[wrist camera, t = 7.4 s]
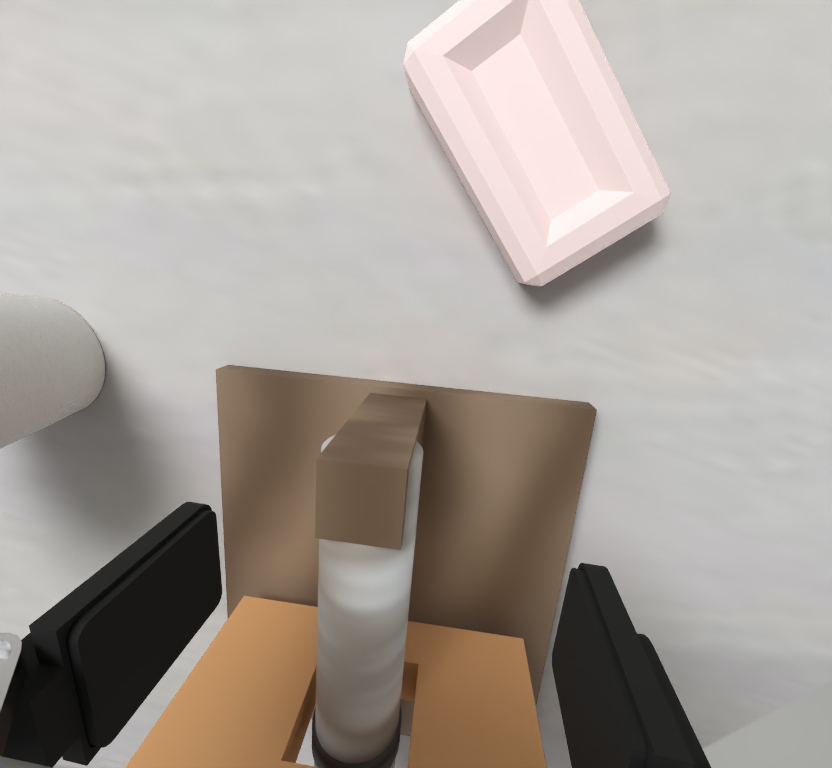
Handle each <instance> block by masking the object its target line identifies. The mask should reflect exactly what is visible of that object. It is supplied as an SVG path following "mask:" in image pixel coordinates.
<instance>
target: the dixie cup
mask: <svg viewBox="0 0 832 768" xmlns="http://www.w3.org/2000/svg"><path fill="white" fill-rule="evenodd" d="M104 379H105V360H104V355H103V351H102V348H101V345H100V343H99V341H98V339H97V337H96V335H95V333H94V332H93V330H92V329H91V327H90V326H89V325H88V323H87V322H86V321H85V320H84V319H83V318H82V317H81V316H80V315H79V314H78V313H77V312H76V311H74V310H73V309H72V308H70V307H69V306H67V305H65V304H63V303H62V302H59V301H57V300H54V299H51V298H47V297H40V296H29V295H18V294H7V293H0V448H3V447H5V446H7V445H9V444H11V443H13V442H15V441H17V440H19V439H21V438H23V437H25V436H28V435H30V434H32V433H34V432H36V431H38V430H41V429H44V428H46V427H48V426H50V425H52V424H54V423H56V422H58V421H60V420H62V419H64V418H65V417H67V416H69V415H71V414H73V413H75V412H77V411H80V410H82V409H84V408H86V407H87V406H89V405H90V404H91V403H92V402H93V401H94V400H95V399H96V398H97V396H98V395H99V393H100V391H101V389H102V387H103V383H104Z"/></svg>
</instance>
